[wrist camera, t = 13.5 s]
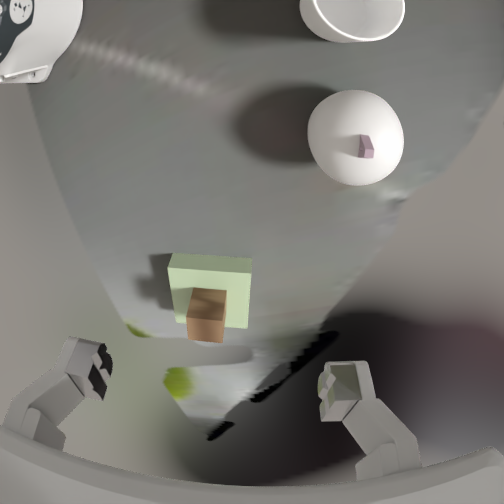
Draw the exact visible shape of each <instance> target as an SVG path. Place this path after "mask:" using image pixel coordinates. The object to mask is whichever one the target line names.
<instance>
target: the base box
mask: <svg viewBox="0 0 504 504" xmlns="http://www.w3.org/2000/svg"><path fill="white" fill-rule="evenodd" d="M251 267H252V258H239V257H225V256H210V255H196V254H181V253H173V254H172V257H171V260H170V262H169V265H168V267H167V268H168V275H169V281H170V288H171V294H172V301H173V307H174V313H175V318H176V322H177V323H186V315H187V311H188V307H189V303H190V299H191V295H192V291H193V287H196V288H206V289H217V290H227V302H226V319H225V326H224V327H234V328H247V325H248V311H249V297H250V283H251Z"/></svg>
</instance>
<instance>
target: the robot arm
mask: <svg viewBox="0 0 504 504" xmlns="http://www.w3.org/2000/svg"><path fill="white" fill-rule="evenodd" d="M82 11H83V0H0V84H5V83H6V84H8V83H39V82H44V81H45V80H46V79H47V78H48V76H49V74H50V72H51V69H52V67H53V64H54V63H55V61H56V60H57V59H58V58H59V57H60V55H61V54H62V53H63V52H64V51H65V50H66V49H67V47H68V46H69V45H70V43H71V41H72V40H73V38H74V36H75V34H76V32H77V30H78V27H79V24H80V21H81V17H82ZM34 72H35V76H34ZM106 350H107V347H106V345H105V343H101V342H96V341H91V340H85V339H81V338H77V337H71V336H69V337H68V339H67V340H66V341H65V344H64V346H63V348H62V350H61V353H60V355H59V358H58V359H57V362H56V364H55V366H54V369H53V370H52V369H50V370H49V371H47V372H46V373H45V374H43V375H42V376H41V377H39V378H38V379H37V380H35V381H34V382H33V383H32V384H30V385H29V386H28V387H26V388H25V389H24V390H23V391H21V392H20V393H19V394H18V395H16V396H15V397H14V398H13V399H12V401H11V403H10V406H9V409H8V411H7V414H6V416H5V419H4V422H3V425H2V426H1V425H0V504H504V456H503V455H502V454H501V453H500V452H498V451H497V450H496V449H495V448H493V447H486V448H482V449H480V450H477V451H474V452H471V453H469V454H466V455H463V456H460V457H457V458H454V459H451V460H447V461H444V462H441V463H437V464H434V465H430V466H427V467H423V468H422V463H421V458H420V453H419V448H418V444H417V439H416V437H415V436H414V435H413V434H412V433H411V432H410V431H409V429H408V428H407V427H406V426H405V425H404V424H403V423H402V422H401V421H400V420H399V419H398V418H397V417H396V416H395V415H394V414H393V413H392V412H391V411H390V409H389V408H387V406H386V405H385V404H384V403H383V402H382V401H381V400H380V399H376V397H375V392H374V388H373V384H372V379H371V375H370V370H369V366H368V363H367V362H366V361H345V362H344V361H343V362H327V363H326V364H325V366H324V369H325V370H324V372H322V373H321V375H320V377H319V381H318V395H319V397H320V398H321V399H322V400H323V401H322V403H321V405H320V414H321V421H342V422H343V424H344V425H345V426H346V428H347V429H348V430H349V432H350V433H351V434H352V436H353V437H354V439H355V440H356V441H357V443H358V444H359V445H360V447H361V448H362V449H363V451H364V452H365V453H366V455H367V456H366V457H365V458H363V459H362V460H360V461H359V462H358V463H357V464H356V465H355V466H356V476H357V481H351V482H343V483H334V484H324V485H309V486H287V487H252V486H230V485H216V484H206V483H196V482H188V481H181V480H174V479H168V478H162V477H156V476H150V475H146V474H141V473H136V472H132V471H127V470H123V469H119V468H115V467H111V466H107V465H104V464H100V463H97V462H93V461H90V460H86V459H84V458H80V457H77V456H74V455H71V454H68V453H66V452H63V447H64V443H65V439H66V436H65V434H64V433H63V432H62V431H61V430H59V429H58V428H57V426H58V425H59V424H60V423H61V422H62V421H63V420H64V419H65V418H66V417H67V416H68V415H69V414H70V412H72V411H73V409H75V408H76V407H77V406H78V405H79V403H80V402H81V401H82V400H83V399H84V397H87V398H91V399H96V400H100V401H103V400H104V396H105V393H106V390H107V385H106V382H105V381H106V380H108V379H109V378H110V377H111V373H112V368H113V362H112V358H111V355H110V354H108V353H107V352H106Z"/></svg>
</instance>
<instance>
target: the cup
mask: <svg viewBox="0 0 504 504" xmlns="http://www.w3.org/2000/svg"><path fill="white" fill-rule="evenodd" d="M404 11H405V4H404V0H300V13H301V16H302V19H303V21H304V22H305V24H306V25H307V27H308V28H309V29H310V30H311V31H312V32H313V33H315V34H316V35H318V36H319V37H321V38H323V39H326V40H329V41H332V42H341V43H343V42H361V41H375V40H380V39H383V38H385V37H387V36H389V35H391V34H392V33H393V32H394V31H395V30H396V29H397V28H398V27H399V25H400V24H401V22H402V19H403V16H404Z"/></svg>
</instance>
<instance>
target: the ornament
mask: <svg viewBox="0 0 504 504" xmlns="http://www.w3.org/2000/svg"><path fill="white" fill-rule="evenodd" d="M308 142H309V146H310V150H311V152H312V155H313V157H314V159H315V161H316V162H317V164H318V165H319V167H320V168H321V169H322V170H323V171H324V172H325V173H326V174H327V175H328V176H329V177H331V178H332V179H334V180H336V181H338V182H341V183H344V184H348V185H367V184H372V183H375V182H377V181H379V180H381V179H383V178H385V177H386V176H387V175H389V174H390V173H391V172H392V171H393V170H394V169H395V167H396V166H397V165H398V163H399V161H400V158H401V156H402V152H403V144H404V140H403V131H402V127H401V124H400V122H399V119H398V117H397V115H396V114H395V112H394V111H393V109H392V108H391V107H390V105H389V104H388V103H387V102H386V101H384V100H383V99H382V98H380V97H379V96H377V95H375V94H373V93H370V92H367V91H362V90H346V91H341V92H338V93H335V94H333V95H330V96H329V97H327V98H325V99H324V100H323V101H321V102H320V103H319V104H318V105H317V106H316V108H315V109H314V110H313V112H312V114H311V116H310V119H309V123H308Z"/></svg>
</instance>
